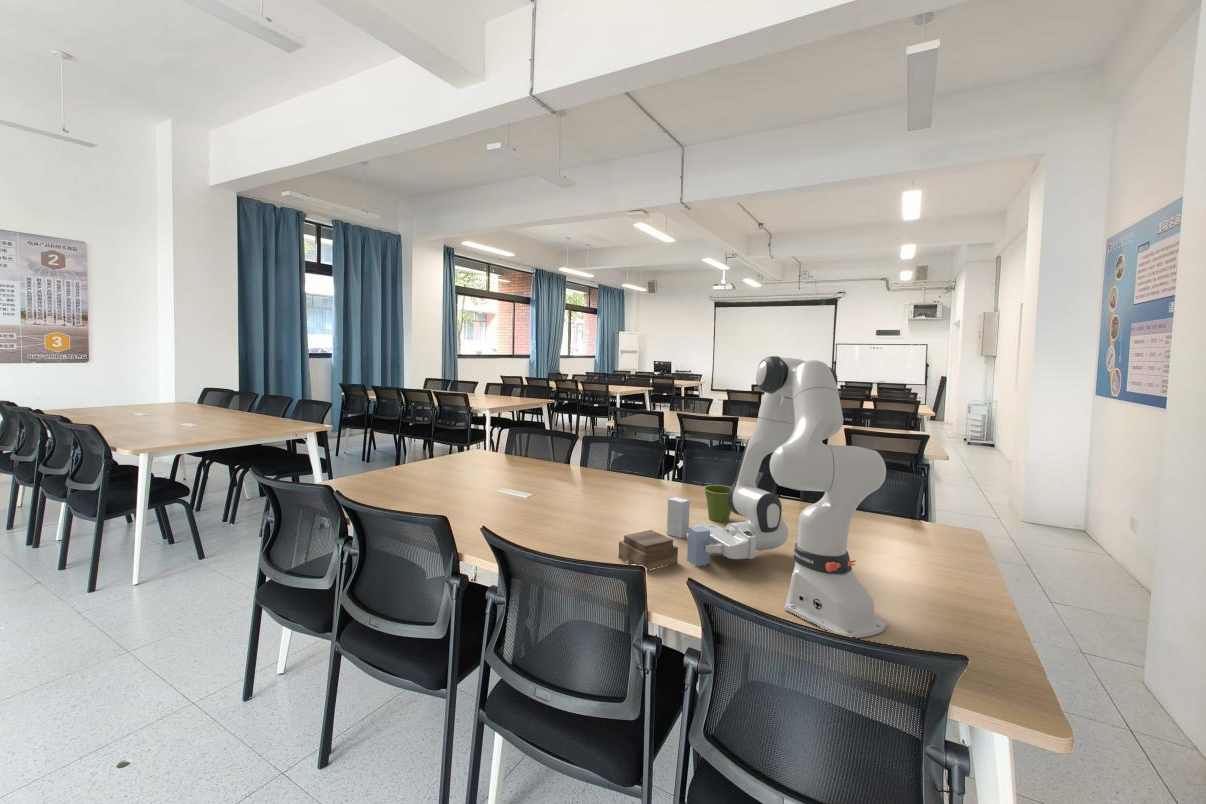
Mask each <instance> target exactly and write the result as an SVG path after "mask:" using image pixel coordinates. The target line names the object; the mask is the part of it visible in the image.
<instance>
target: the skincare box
mask: <svg viewBox="0 0 1206 804" xmlns="http://www.w3.org/2000/svg"><path fill="white" fill-rule="evenodd" d="M690 502H691V501H690V500H689V499H686V498H682V497H676V496H674V497H671V498H667V521H666V522H667V523H666V534H667V535H669V536H672V537H674V538H675V537H676V538H678V539H684V538H687V534H688V527H690Z"/></svg>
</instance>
